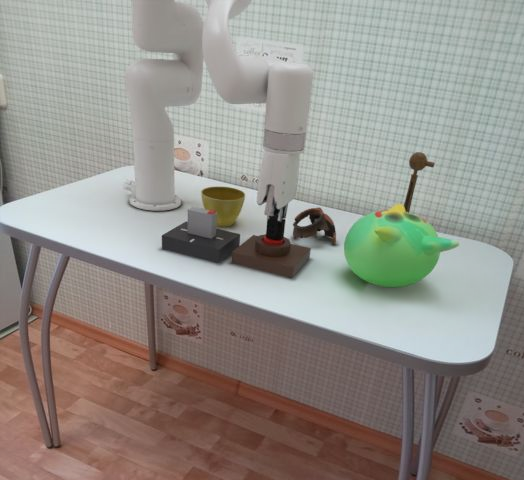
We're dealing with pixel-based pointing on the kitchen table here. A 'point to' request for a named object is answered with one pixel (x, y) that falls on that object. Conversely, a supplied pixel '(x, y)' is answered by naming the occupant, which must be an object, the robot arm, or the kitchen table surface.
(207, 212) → the grey upright block
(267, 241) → the power button
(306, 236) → the brown openwork arch
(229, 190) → the flower pot
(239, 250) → the button block
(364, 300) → the kitchen table surface
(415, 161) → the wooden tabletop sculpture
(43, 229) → the kitchen table surface
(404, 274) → the toy bird
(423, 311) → the kitchen table surface
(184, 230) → the panel
